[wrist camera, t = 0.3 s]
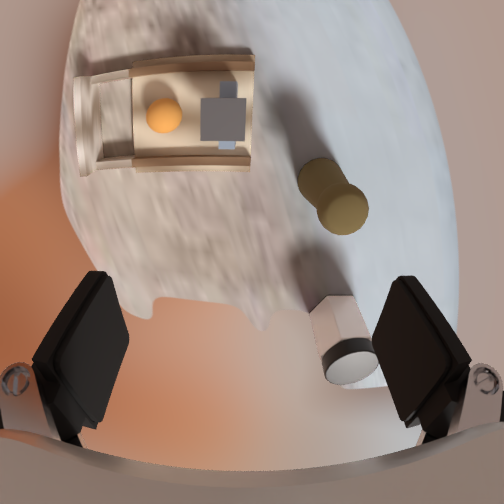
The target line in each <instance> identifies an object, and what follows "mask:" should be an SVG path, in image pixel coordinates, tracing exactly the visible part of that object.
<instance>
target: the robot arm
mask: <svg viewBox="0 0 504 504" xmlns="http://www.w3.org/2000/svg"><path fill="white" fill-rule="evenodd" d="M128 344H129V333H128V330H127V327H126V324H125V321H124V318H123V315H122V312H121V308H120V305H119V302H118V298H117V295H116V291H115V288H114V284H113V280H112V278H111V277H110V276H108V275H107V273H106V272H104V271H89V272H88V273H87V274H86V276H85V277H84V278H83V280H82V281H81V283H80V284H79V285H78V287H77V288H76V289H75V291H74V292H73V294H72V295H71V297H70V298H69V300H68V301H67V303H66V304H65V306H64V307H63V309H62V310H61V312H60V313H59V315H58V316H57V318H56V320H55V321H54V323H53V324H52V326H51V327H50V329H49V331H48V332H47V334H46V335H45V337H44V339H43V341H42V342H41V344H40V345H39V347H38V349H37V351H36V352H35V354H34V356H33V358H32V361H33V362H34V363H33V365H32V366H30V365H29V364H26V363H24V362H23V363H22V362H17V363H14V364H11V365H10V366H8V367H7V368H6V369H5V370H4V371H3V372H2V374H1V375H0V504H504V391H503V384H502V380H501V377H500V376H499V374H498V372H497V371H496V370H495V369H494V368H492V367H491V366H489V365H487V364H483V363H478V364H476V365H474V366H473V367H472V368H471V369H470V367H469V364H470V362H471V361H472V359H471V358H470V356H469V354H468V353H467V351H466V349H465V348H464V346H463V345H462V343H461V342H460V340H459V338H458V337H457V335H456V334H455V332H454V331H453V329H452V328H451V326H450V324H449V323H448V322H447V320H446V319H445V317H444V316H443V314H442V313H441V311H440V310H439V308H438V307H437V306H436V304H435V303H434V301H433V300H432V298H431V297H430V296H429V294H428V293H427V292H426V290H425V289H424V288H423V286H422V285H421V283H420V282H419V281H418V280H417V278H416V277H415V276H399V277H398V278H397V279H396V280H395V281H393V282H392V285H391V288H390V291H389V294H388V296H387V299H386V302H385V305H384V307H383V310H382V313H381V315H380V318H379V321H378V323H377V326H376V328H375V331H374V333H373V336H372V346H373V349H374V351H375V354H376V356H377V359H378V361H379V364H380V367H381V369H382V372H383V374H384V377H385V380H386V382H387V385H388V387H389V390H390V393H391V395H392V398H393V401H394V404H395V407H396V410H397V412H398V415H399V418H400V420H401V421H404V422H405V426H406V428H409V427H413V426H416V425H419V424H420V423H421V426H422V431H421V434H420V436H419V439H418V442H417V444H416V446H415V447H412V448H409V449H405V450H402V451H398V452H394V453H391V454H387V455H383V456H378V457H374V458H369V459H364V460H360V461H355V462H349V463H343V464H337V465H330V466H323V467H316V468H306V469H296V470H295V469H294V470H280V471H244V472H243V471H214V470H201V469H189V468H180V467H172V466H165V465H158V464H152V463H146V462H140V461H135V460H130V459H126V458H121V457H117V456H113V455H108V454H104V453H100V452H96V451H93V450H89V449H88V448H87V446H86V444H85V442H84V440H83V437H82V435H81V433H80V432H81V429H82V426H85V427H89V428H92V429H96V427H97V424H98V422H101V421H102V420H103V418H104V415H105V411H106V407H107V405H108V402H109V398H110V396H111V393H112V389H113V386H114V383H115V381H116V378H117V375H118V372H119V369H120V366H121V363H122V360H123V358H124V355H125V352H126V350H127V347H128Z"/></svg>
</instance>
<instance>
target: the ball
mask: <svg viewBox="0 0 504 504" xmlns="http://www.w3.org/2000/svg"><path fill="white" fill-rule="evenodd" d="M181 120H182V109H181V107H180V105H179V104H178V103H177V102H176V101H174V100H172V99H169V98H162V99H158V100H156V101H154V102H153V103H152V104H151V105H150V106H149V108H148V110H147V113H146V121H147V124H148V126H149V127H150V128H151V129H152V130H153V131H155V132H157V133H169V132H171V131H173V130H174V129H176V128H177V127H178V126H179V124H180V122H181Z"/></svg>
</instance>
